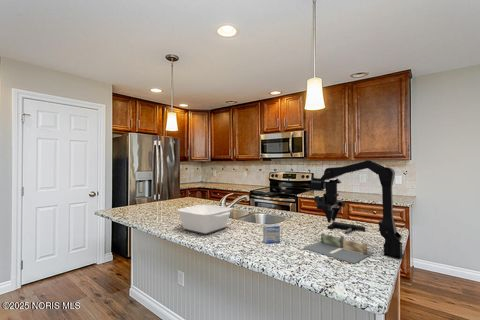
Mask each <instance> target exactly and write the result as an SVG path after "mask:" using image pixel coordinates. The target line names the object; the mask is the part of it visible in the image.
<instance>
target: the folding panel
mask: <svg viewBox="0 0 480 320" xmlns="http://www.w3.org/2000/svg"><path fill="white" fill-rule="evenodd" d="M320 241H321V242H322V243H327V244H331V245H334V246H338V247H341V237H337V236H333V235H328V234H325V233H323V232H322V233H320Z"/></svg>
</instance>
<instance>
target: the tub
mask: <svg viewBox="0 0 480 320" xmlns="http://www.w3.org/2000/svg"><path fill="white" fill-rule="evenodd" d="M232 209H233V208H231V207H228V206H221V205H214V204H197V205H192V206H187V207H181V208H178V209H177V212H178V215H179V219H180V222H181V223H182V226H183V230H184V231H188V232H192V233H195V234H200V235H204V236H207V235H209V234H213V233H215V232H220V231H221V230H224V229H225V228H226V226H227V224H228V220H229V217H230V215H231V211H232Z"/></svg>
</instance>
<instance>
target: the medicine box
mask: <svg viewBox="0 0 480 320" xmlns="http://www.w3.org/2000/svg"><path fill="white" fill-rule="evenodd" d="M262 232H263V233H262V241H263V242H264V243H265V244H267V245H269V244H277V243H278V244H279V243H281V226H280V225H278V224H265V225H263V226H262Z"/></svg>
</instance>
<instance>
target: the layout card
mask: <svg viewBox="0 0 480 320" xmlns="http://www.w3.org/2000/svg"><path fill="white" fill-rule="evenodd" d="M303 249H304V250H306V251H311V252H314V253H316V254H320V255H324V256H327V257H330V258H334V259H337V260H340V261H342V262H345V263H346V262H347V263H350V264H352V265H356V264H358V263H360V262H361V261H363V260H365V259H367V258H369V257H370V256H372V255H373V254H374V252H373V251H368V250H367V255H364V254H362V253H359V252H355V251H351V250H348V249H344V248H341V247H338V246H334V245H331V244H327V243H322V242H321V240H320V241H318V242H315V243H313V244H310V245H307V246H305V247H303Z"/></svg>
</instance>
